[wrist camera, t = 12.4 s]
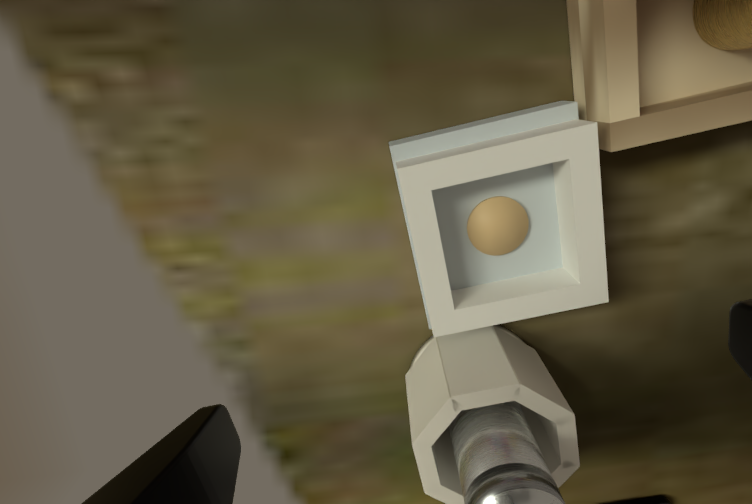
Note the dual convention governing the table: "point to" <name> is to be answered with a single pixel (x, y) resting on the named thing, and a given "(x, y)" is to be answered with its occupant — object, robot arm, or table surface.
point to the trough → (652, 72)
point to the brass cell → (724, 23)
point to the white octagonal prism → (483, 402)
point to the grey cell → (500, 458)
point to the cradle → (505, 217)
